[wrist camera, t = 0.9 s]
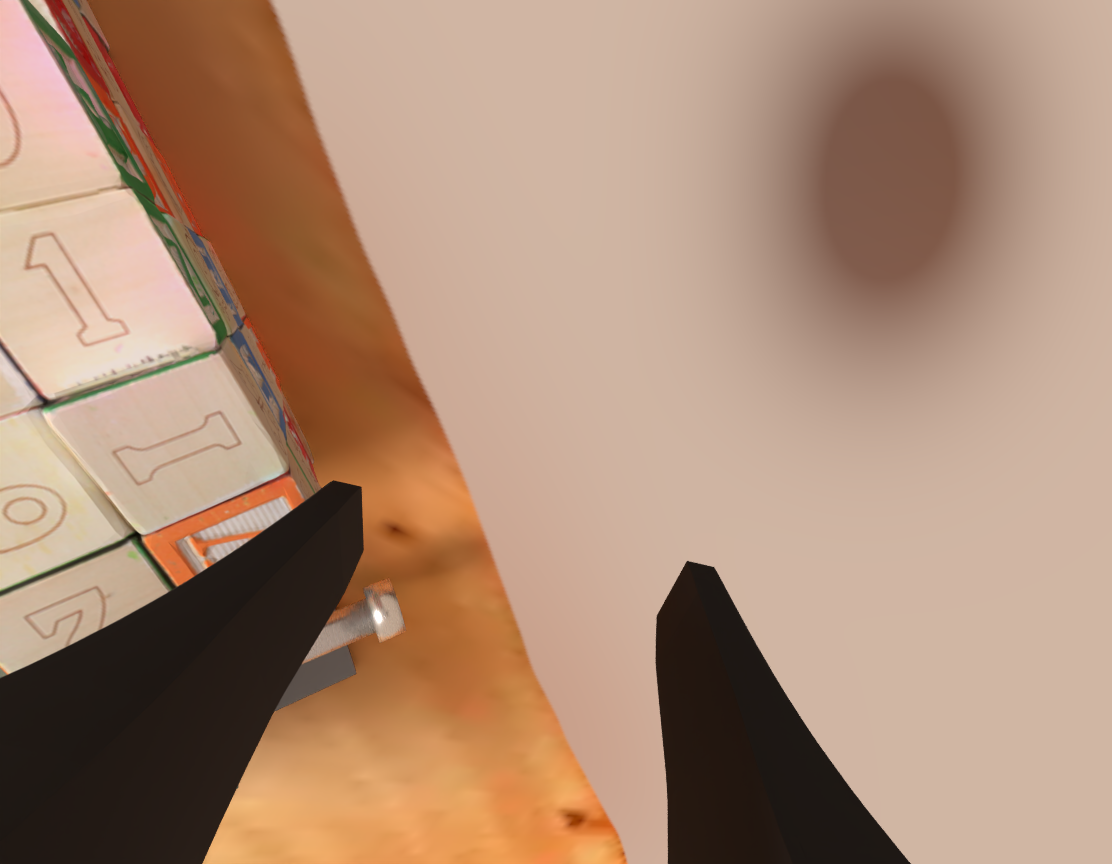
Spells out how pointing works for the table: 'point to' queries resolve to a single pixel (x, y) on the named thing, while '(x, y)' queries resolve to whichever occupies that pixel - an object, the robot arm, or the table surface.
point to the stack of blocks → (114, 357)
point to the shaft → (361, 620)
